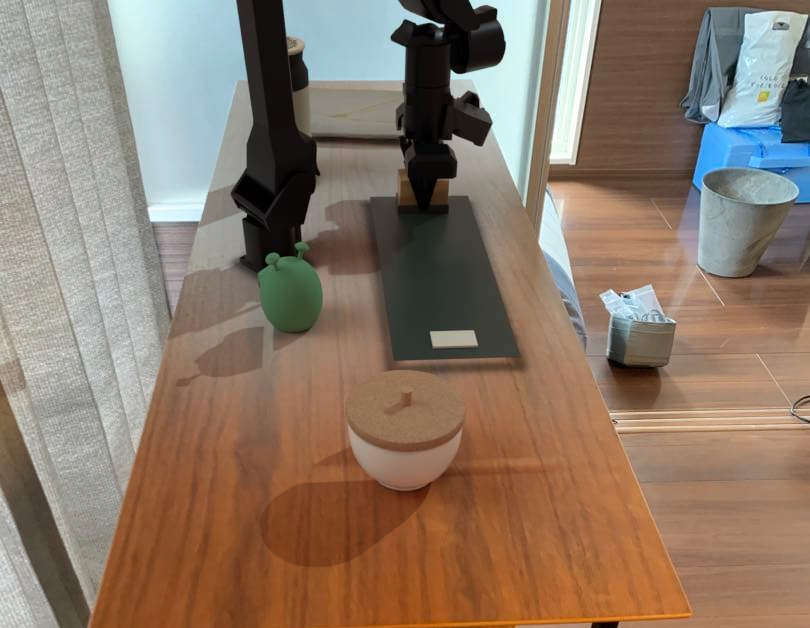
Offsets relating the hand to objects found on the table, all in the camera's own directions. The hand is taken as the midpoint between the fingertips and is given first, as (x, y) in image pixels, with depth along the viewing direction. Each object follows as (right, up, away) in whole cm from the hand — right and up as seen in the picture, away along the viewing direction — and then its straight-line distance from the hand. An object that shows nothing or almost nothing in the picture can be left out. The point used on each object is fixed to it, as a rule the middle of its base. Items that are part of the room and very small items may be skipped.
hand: (421, 203), depth 114 cm
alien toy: (-15, -22, -19) cm, 33 cm away
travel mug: (-20, +7, +8) cm, 22 cm away
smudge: (+3, -24, -22) cm, 33 cm away
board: (+2, -13, -10) cm, 17 cm away
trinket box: (-2, -40, -35) cm, 53 cm away
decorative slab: (-11, +24, +25) cm, 36 cm away
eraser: (0, 0, 0) cm, 0 cm away
